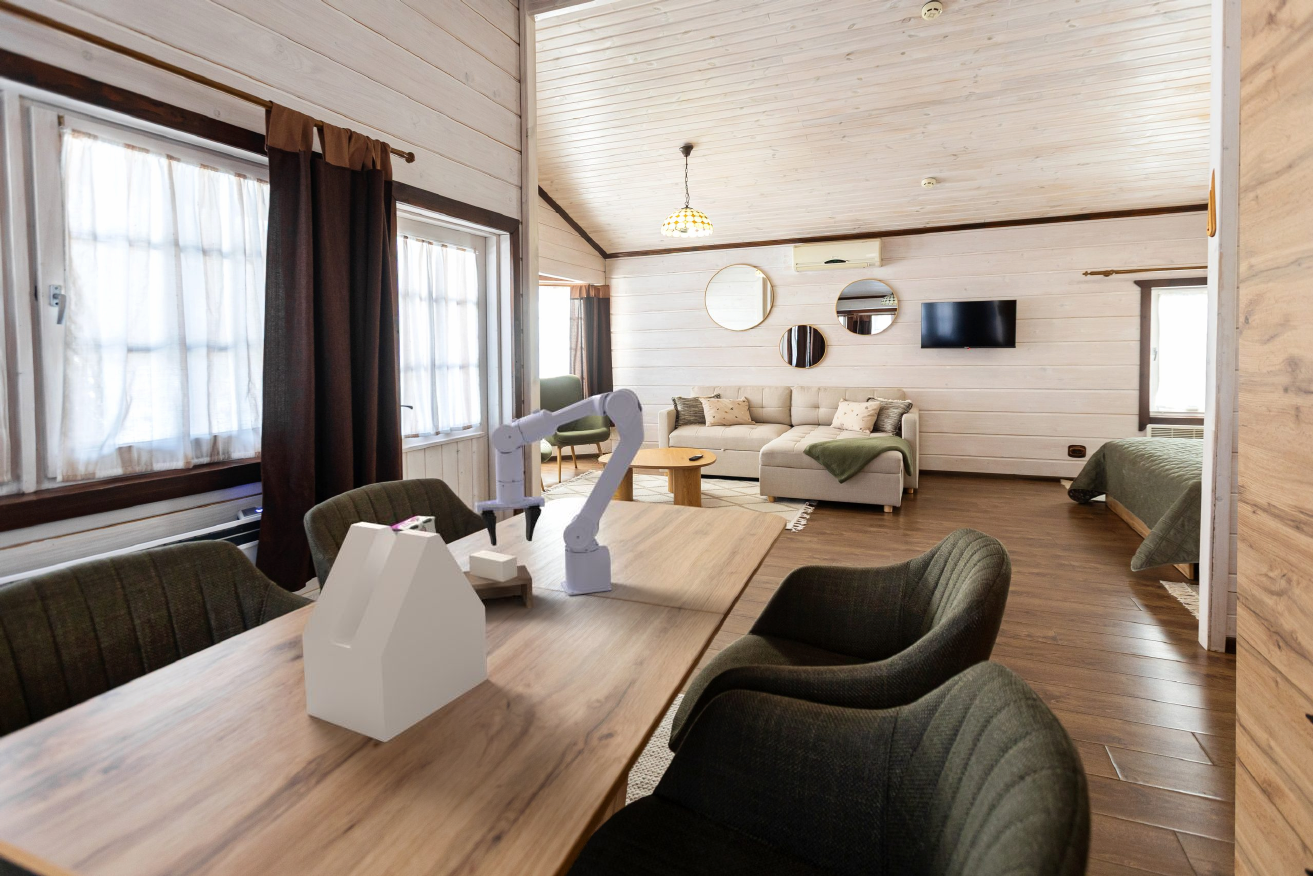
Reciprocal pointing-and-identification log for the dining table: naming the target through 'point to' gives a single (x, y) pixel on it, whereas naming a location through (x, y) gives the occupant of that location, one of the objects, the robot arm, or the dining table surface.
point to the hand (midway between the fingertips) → (511, 542)
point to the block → (493, 565)
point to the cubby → (504, 586)
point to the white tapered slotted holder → (392, 633)
